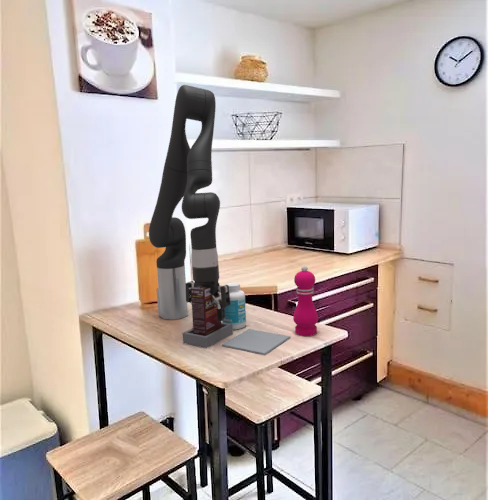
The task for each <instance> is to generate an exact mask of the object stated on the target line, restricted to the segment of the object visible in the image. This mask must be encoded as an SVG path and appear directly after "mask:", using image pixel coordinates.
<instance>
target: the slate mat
mask: <svg viewBox="0 0 488 500" xmlns="http://www.w3.org/2000/svg"><path fill="white" fill-rule="evenodd" d="M290 339H291V335H285V334H278V333H273V332H269V331H263V330H257V329H251V328H248V329H247V330H245V331H243V332H240V333H239V334H237V335H236V336H234V337H232V338H230V339H229V340H227V341H225V342H223V343H221V347H223V348H224V347H225V348H230V349H233V350H238V351H244V352H247V353H253V354H257V355H263V356H266V355H267V354H269V353H270V352H273V351H274V350H275V349H277V348H278V347H279V346H281V345H282V344H284V343H285V342H287V341H288V340H290Z"/></svg>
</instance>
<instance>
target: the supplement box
mask: <svg viewBox="0 0 488 500" xmlns="http://www.w3.org/2000/svg"><path fill="white" fill-rule="evenodd" d="M209 291H211V290H210V287H206V286H197V287H194V288H191V300H192V305H191V315H192V328H193V334H197V335H202V336H207V335H209V334H211V333H213V332H215V331H216V330H218V329H220V328H222V327H221V322H222V321H221V322H220V321H218V319H217V309H218V308H217V306H216V305H215V303H213V302H212V301H211V299H210V293H209ZM218 292H219V293H220V290H219V291H218ZM220 294H221V293H220ZM215 298H217V296H216V297H215Z"/></svg>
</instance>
